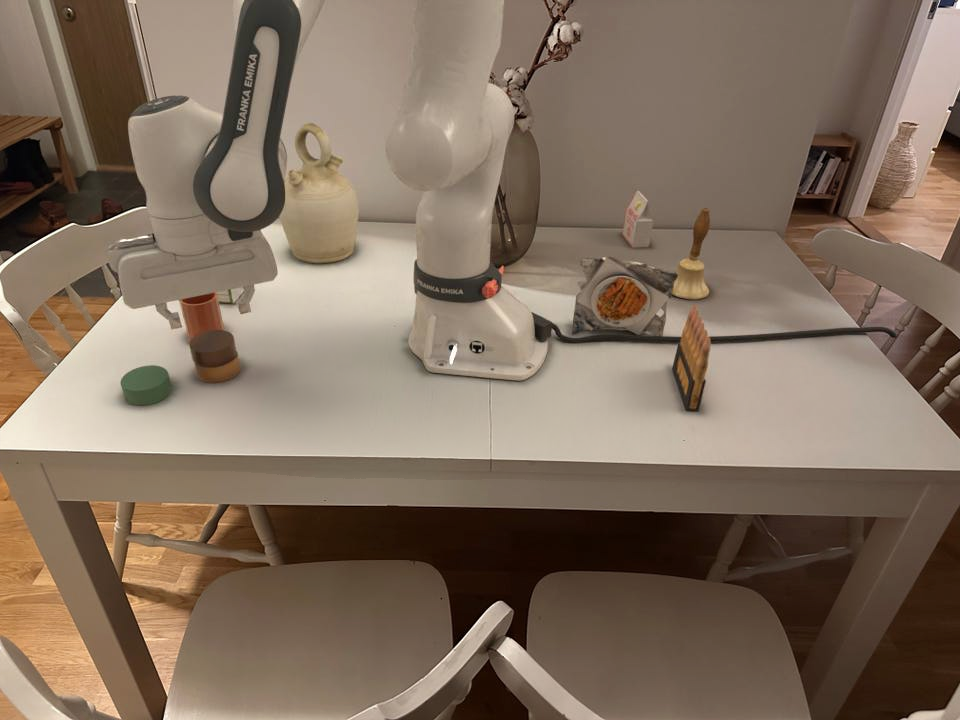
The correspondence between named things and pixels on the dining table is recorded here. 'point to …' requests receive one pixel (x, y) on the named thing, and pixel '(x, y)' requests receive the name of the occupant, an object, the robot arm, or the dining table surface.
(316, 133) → the jug
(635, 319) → the meal
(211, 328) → the cup
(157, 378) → the green chip
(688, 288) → the hand bell
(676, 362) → the ammunition clip
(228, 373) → the oak chip
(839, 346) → the dining table surface
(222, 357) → the walnut chip
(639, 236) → the white carton
